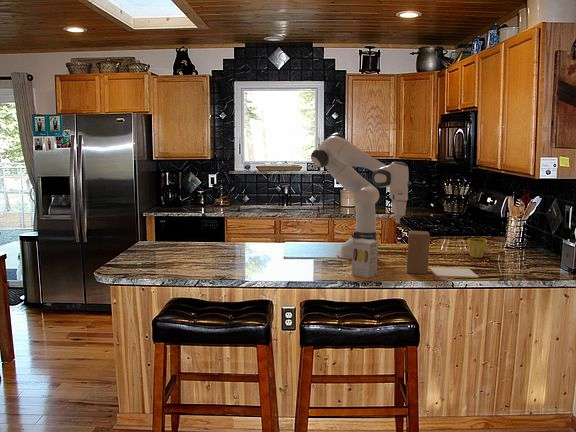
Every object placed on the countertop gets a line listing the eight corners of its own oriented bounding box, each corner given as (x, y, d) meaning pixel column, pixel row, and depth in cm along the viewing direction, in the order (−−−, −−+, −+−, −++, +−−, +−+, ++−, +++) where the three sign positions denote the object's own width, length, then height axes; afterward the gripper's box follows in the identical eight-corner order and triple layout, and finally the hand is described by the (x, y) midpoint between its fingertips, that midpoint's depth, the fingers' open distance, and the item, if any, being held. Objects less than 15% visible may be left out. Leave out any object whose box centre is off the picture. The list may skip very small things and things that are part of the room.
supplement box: (350, 275, 275) (352, 240, 272) (359, 271, 282) (361, 237, 280) (368, 278, 269) (370, 243, 267) (377, 274, 277) (378, 240, 274)
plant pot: (479, 259, 315) (480, 242, 314) (463, 256, 323) (464, 239, 322) (489, 257, 322) (491, 240, 320) (473, 253, 330) (474, 237, 328)
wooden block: (427, 275, 278) (430, 234, 275) (406, 273, 280) (408, 233, 277) (426, 270, 287) (429, 231, 284) (406, 268, 289) (408, 230, 286)
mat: (436, 276, 275) (436, 275, 275) (429, 268, 291) (429, 267, 291) (478, 277, 275) (478, 276, 275) (469, 269, 290) (469, 268, 290)
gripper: (389, 192, 289) (388, 219, 291) (395, 197, 268) (393, 226, 270) (401, 193, 288) (400, 220, 290) (408, 197, 268) (407, 226, 270)
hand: (397, 223), depth 280 cm, fingers closed
